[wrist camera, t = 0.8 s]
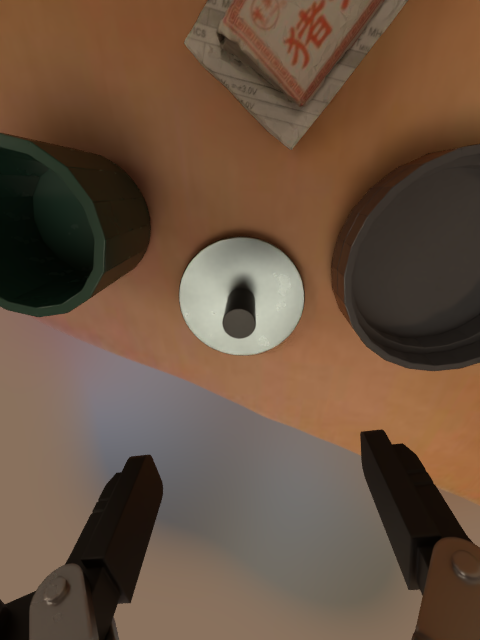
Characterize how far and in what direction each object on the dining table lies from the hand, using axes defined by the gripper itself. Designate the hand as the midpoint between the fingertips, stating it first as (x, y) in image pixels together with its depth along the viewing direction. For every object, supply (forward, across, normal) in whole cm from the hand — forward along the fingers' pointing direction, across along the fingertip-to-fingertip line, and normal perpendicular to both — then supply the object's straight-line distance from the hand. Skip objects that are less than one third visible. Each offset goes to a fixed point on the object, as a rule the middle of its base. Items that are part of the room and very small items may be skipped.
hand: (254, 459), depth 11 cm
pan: (+19, -16, -1) cm, 25 cm away
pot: (+18, +13, -10) cm, 25 cm away
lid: (+18, +1, 0) cm, 18 cm away
